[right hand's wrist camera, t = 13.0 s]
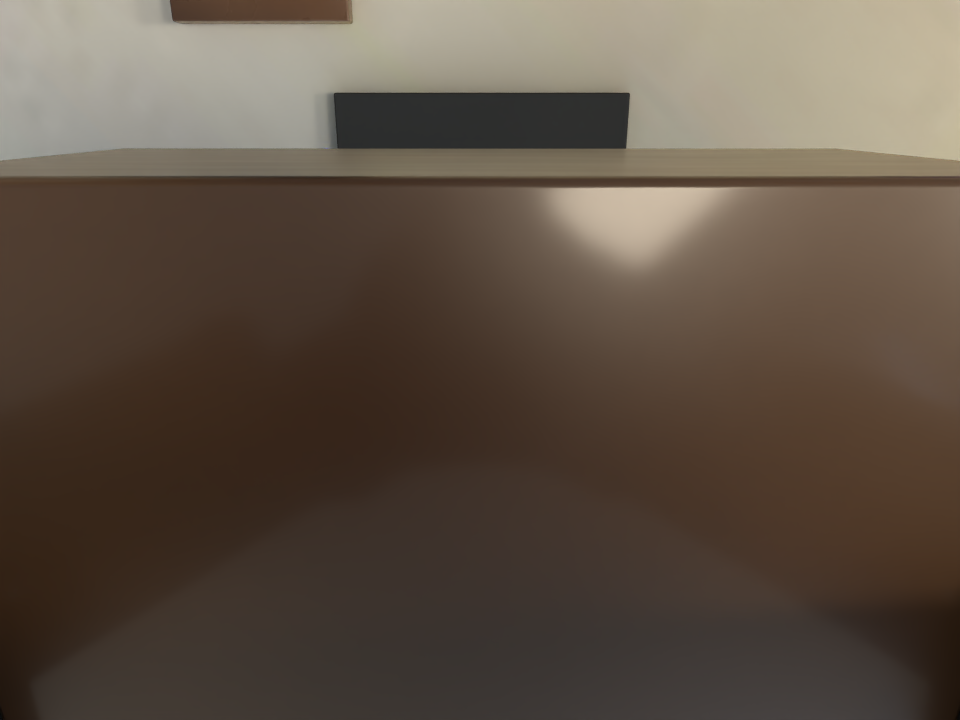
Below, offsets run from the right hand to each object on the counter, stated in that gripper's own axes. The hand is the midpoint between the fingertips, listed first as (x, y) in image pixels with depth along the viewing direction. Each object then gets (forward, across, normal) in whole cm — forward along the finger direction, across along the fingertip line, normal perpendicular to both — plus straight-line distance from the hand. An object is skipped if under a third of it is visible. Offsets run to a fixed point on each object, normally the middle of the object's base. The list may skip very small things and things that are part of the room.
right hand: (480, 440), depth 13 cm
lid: (-1, 0, 0) cm, 1 cm away
